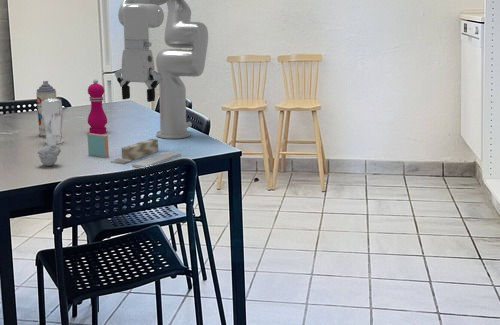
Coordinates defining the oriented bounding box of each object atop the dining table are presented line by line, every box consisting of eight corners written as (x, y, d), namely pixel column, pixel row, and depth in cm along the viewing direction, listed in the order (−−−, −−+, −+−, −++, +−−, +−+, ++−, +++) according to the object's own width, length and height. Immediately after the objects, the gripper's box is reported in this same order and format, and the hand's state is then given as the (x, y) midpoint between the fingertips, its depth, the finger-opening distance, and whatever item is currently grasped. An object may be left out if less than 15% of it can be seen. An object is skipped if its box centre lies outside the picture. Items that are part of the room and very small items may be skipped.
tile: (91, 154, 215) (90, 133, 213) (108, 156, 212) (107, 135, 210) (88, 155, 213) (87, 134, 212) (105, 157, 210) (104, 136, 209)
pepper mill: (105, 134, 245) (102, 80, 240) (86, 134, 245) (83, 80, 240) (109, 130, 252) (107, 78, 247) (90, 130, 252) (88, 78, 247)
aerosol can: (38, 134, 244) (34, 80, 239) (57, 133, 247) (54, 79, 242) (40, 137, 238) (36, 82, 233) (59, 136, 241) (56, 81, 236)
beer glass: (58, 139, 236) (55, 97, 232) (68, 142, 231) (65, 100, 228) (40, 142, 231) (37, 99, 228) (50, 145, 226) (47, 102, 223)
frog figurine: (61, 167, 198) (60, 144, 196) (37, 168, 196) (35, 145, 195) (62, 162, 204) (61, 140, 202) (39, 163, 202) (37, 141, 200)
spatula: (148, 149, 222) (148, 138, 221) (161, 151, 219) (160, 139, 218) (110, 162, 204) (110, 150, 203) (123, 164, 202) (123, 151, 201)
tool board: (167, 153, 216) (167, 151, 216) (180, 155, 214) (180, 153, 213) (132, 166, 199) (132, 164, 199) (145, 168, 197) (145, 166, 197)
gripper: (166, 45, 204) (167, 100, 208) (122, 43, 212) (124, 96, 216) (152, 47, 198) (154, 103, 202) (106, 45, 205) (109, 99, 210)
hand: (138, 100), depth 209 cm, fingers open, 9 cm apart
